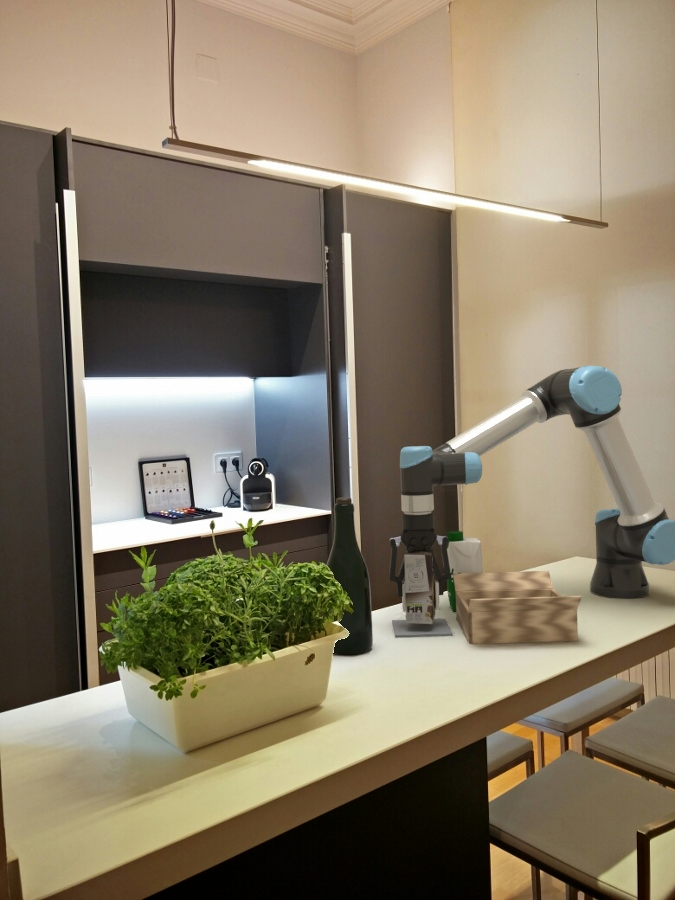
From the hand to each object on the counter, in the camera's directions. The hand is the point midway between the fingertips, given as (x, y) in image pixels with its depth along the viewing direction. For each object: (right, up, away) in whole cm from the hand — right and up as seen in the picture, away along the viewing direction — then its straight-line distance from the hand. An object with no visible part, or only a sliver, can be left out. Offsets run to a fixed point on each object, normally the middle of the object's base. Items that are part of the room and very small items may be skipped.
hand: (420, 609), depth 177 cm
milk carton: (+13, -4, +17) cm, 22 cm away
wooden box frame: (+21, -4, -3) cm, 22 cm away
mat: (0, -5, 0) cm, 5 cm away
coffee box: (0, -2, 0) cm, 2 cm away
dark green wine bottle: (-17, -6, -13) cm, 23 cm away
